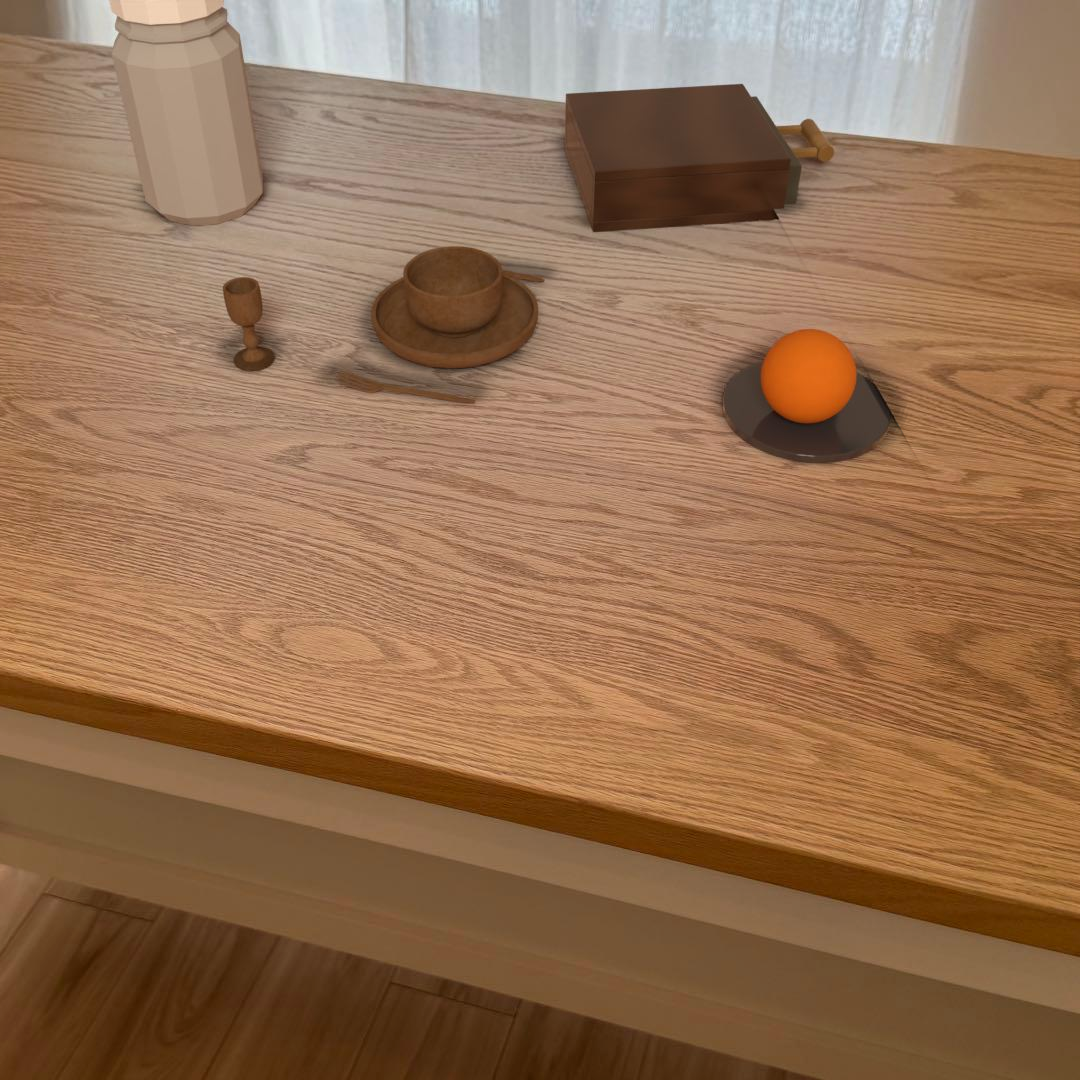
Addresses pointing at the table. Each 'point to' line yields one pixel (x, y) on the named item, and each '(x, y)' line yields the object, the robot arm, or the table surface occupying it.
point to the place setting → (423, 315)
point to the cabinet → (674, 157)
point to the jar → (187, 108)
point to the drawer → (814, 139)
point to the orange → (808, 376)
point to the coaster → (806, 442)
